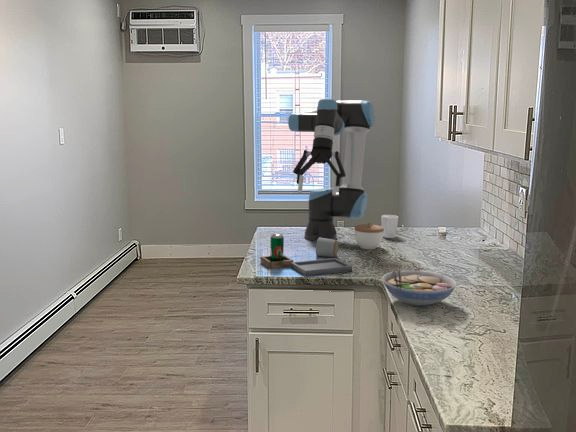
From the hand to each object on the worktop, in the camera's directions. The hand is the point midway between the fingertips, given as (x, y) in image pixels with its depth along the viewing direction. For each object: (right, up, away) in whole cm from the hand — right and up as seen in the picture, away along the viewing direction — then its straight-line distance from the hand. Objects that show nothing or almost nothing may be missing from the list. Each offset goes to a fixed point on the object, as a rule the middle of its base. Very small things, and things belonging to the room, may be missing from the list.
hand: (316, 193), depth 221 cm
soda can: (-15, -27, +5) cm, 32 cm away
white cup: (+37, -19, +59) cm, 72 cm away
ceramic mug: (+5, -25, +21) cm, 33 cm away
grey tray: (+2, -28, -1) cm, 29 cm away
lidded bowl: (+25, -22, +36) cm, 49 cm away
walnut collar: (-15, -27, +5) cm, 31 cm away
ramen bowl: (+30, -36, -38) cm, 60 cm away
